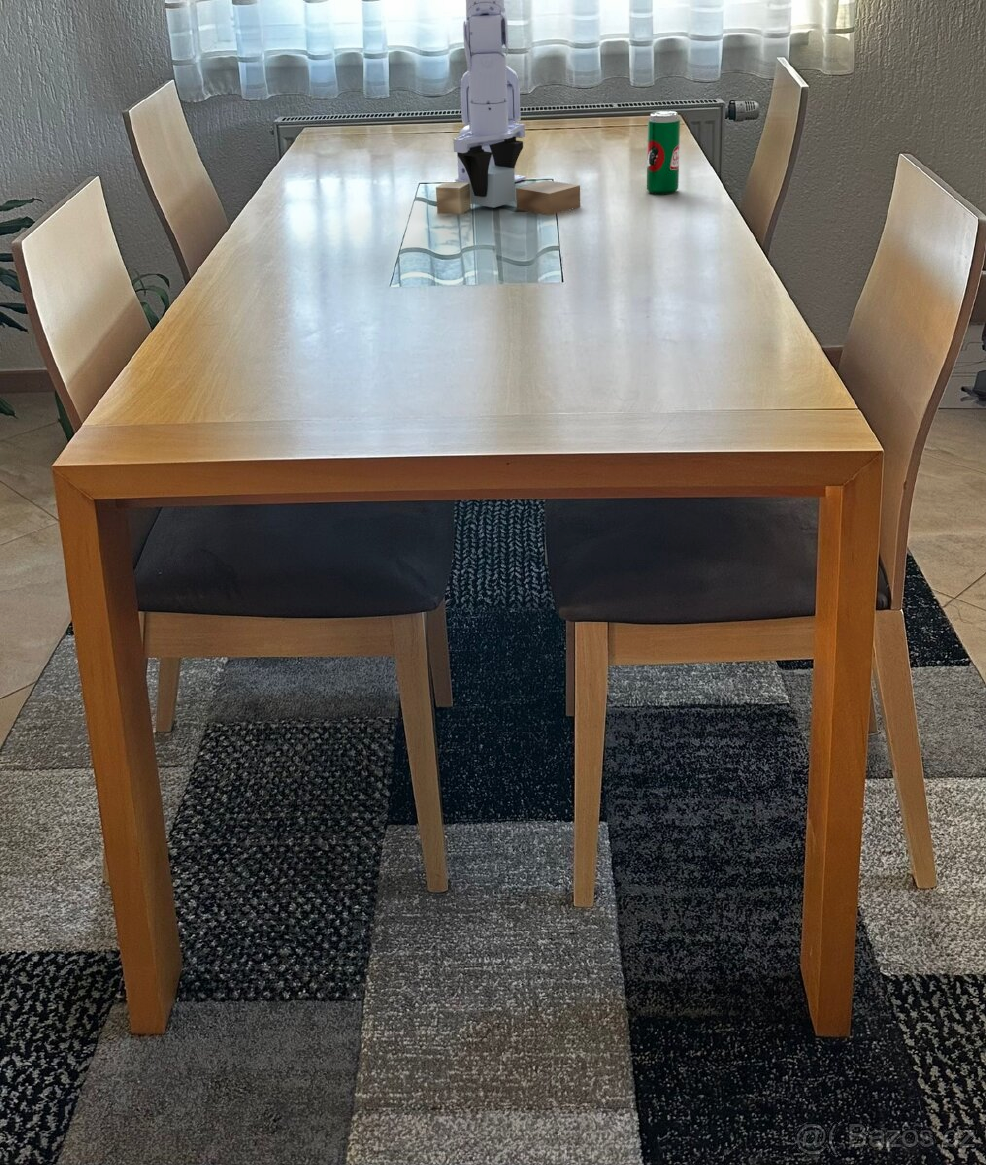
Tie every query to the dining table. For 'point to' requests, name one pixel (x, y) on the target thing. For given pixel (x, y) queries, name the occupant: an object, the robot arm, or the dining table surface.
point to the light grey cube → (497, 188)
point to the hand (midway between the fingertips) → (492, 192)
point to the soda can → (663, 152)
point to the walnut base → (548, 197)
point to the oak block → (453, 197)
